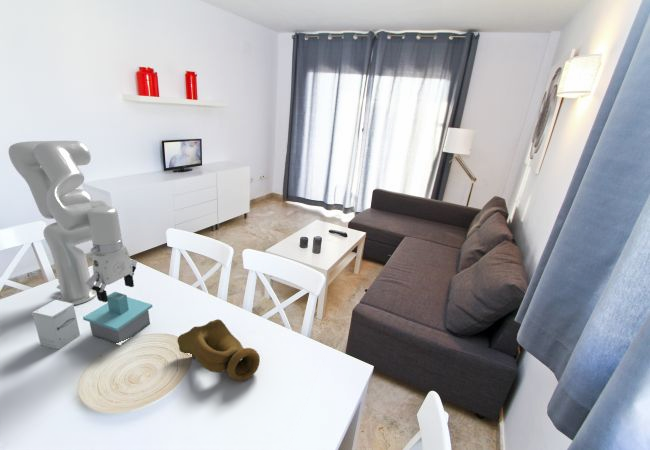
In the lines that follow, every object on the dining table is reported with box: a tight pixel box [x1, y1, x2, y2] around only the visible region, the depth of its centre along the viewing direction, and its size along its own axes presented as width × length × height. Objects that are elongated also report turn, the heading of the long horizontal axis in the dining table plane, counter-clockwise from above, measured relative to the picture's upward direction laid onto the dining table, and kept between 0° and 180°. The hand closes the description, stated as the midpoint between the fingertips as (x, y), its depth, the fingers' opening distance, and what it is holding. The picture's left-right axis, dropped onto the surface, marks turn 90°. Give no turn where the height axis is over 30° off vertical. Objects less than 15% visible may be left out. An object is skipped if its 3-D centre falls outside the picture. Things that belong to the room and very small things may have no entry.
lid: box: [82, 291, 153, 331], centre depth 105 cm, size 14×14×8 cm
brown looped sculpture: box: [177, 318, 261, 382], centre depth 97 cm, size 18×13×22 cm
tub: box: [89, 310, 151, 345], centre depth 107 cm, size 12×12×7 cm
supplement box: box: [31, 299, 81, 350], centre depth 99 cm, size 7×7×13 cm
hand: (117, 293), depth 103 cm, fingers open, 9 cm apart
